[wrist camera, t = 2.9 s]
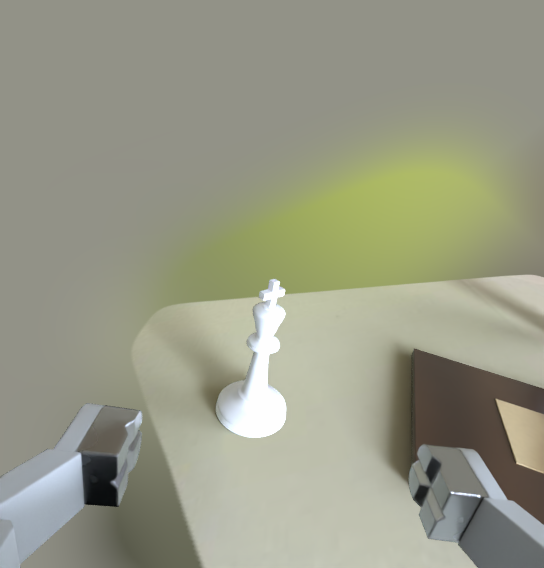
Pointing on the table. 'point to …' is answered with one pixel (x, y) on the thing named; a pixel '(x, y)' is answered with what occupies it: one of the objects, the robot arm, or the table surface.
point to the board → (482, 423)
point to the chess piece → (257, 376)
